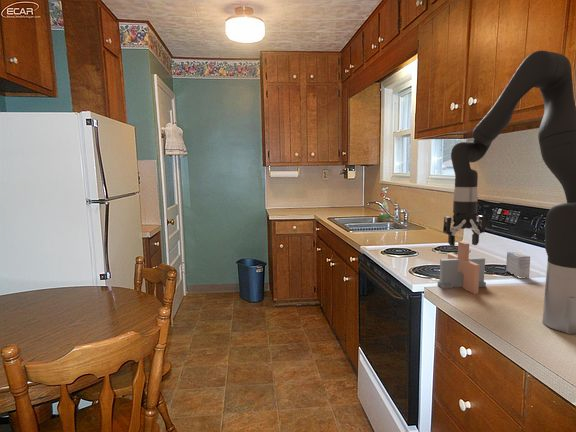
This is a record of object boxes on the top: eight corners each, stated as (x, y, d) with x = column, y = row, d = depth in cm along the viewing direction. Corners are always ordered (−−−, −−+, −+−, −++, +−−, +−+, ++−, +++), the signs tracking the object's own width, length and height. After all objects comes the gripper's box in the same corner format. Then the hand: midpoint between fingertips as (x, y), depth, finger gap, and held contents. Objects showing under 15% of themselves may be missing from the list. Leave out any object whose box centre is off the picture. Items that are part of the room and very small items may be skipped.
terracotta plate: (478, 293, 120) (480, 247, 118) (473, 293, 120) (476, 247, 117) (450, 278, 135) (452, 238, 133) (446, 279, 135) (448, 238, 133)
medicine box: (529, 278, 134) (531, 256, 133) (517, 278, 134) (519, 256, 133) (516, 272, 142) (518, 251, 141) (505, 272, 142) (506, 251, 141)
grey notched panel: (478, 282, 130) (480, 256, 129) (485, 286, 126) (487, 259, 125) (437, 285, 129) (438, 258, 127) (443, 288, 125) (444, 261, 123)
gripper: (452, 201, 119) (450, 248, 121) (491, 200, 120) (489, 246, 122) (440, 199, 126) (438, 243, 128) (477, 198, 128) (475, 242, 130)
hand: (463, 245), depth 125 cm, fingers open, 8 cm apart
